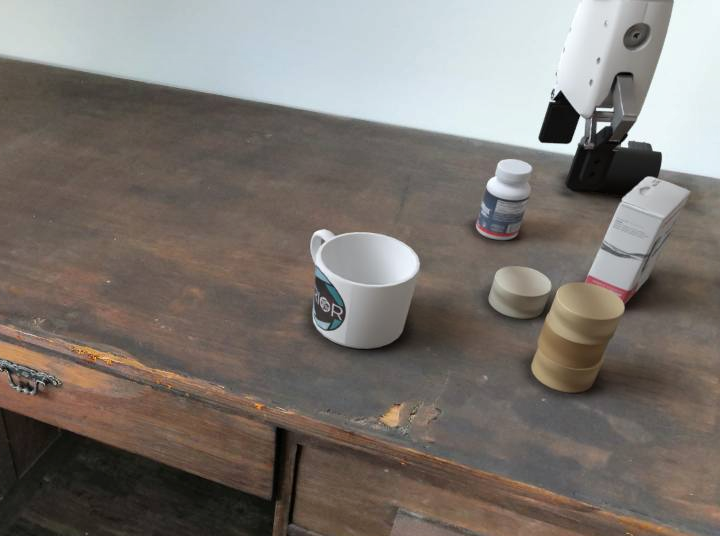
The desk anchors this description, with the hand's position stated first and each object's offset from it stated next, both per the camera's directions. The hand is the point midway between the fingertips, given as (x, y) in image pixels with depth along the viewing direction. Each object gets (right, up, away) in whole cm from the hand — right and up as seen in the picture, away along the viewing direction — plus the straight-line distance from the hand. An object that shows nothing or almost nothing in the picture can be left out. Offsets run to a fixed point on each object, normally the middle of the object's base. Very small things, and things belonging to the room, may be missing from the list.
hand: (567, 163), depth 75 cm
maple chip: (+1, -16, -1) cm, 16 cm away
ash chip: (0, -12, +12) cm, 17 cm away
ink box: (+13, -10, +15) cm, 22 cm away
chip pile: (+1, -20, +3) cm, 21 cm away
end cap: (+20, +5, +33) cm, 39 cm away
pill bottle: (+2, -2, +25) cm, 25 cm away
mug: (-19, -14, +11) cm, 26 cm away
